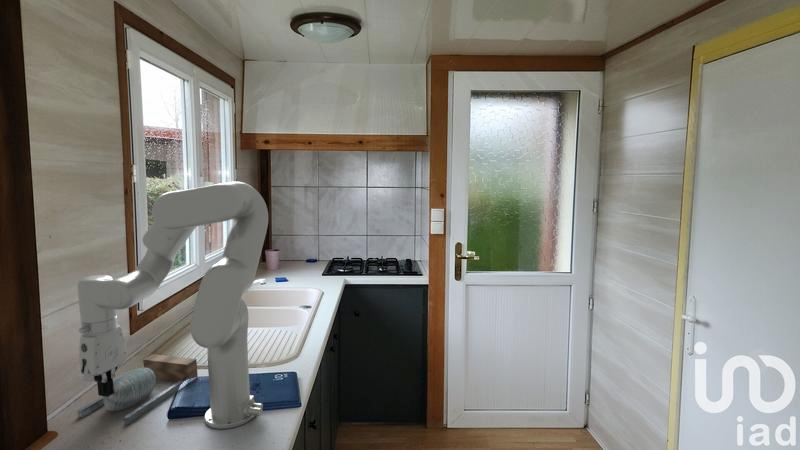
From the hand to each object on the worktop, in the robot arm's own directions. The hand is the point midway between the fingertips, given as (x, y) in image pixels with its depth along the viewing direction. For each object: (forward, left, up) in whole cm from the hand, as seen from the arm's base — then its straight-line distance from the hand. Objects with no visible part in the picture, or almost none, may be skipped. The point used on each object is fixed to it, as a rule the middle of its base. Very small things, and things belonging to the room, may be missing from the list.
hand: (106, 394), depth 117 cm
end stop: (0, -22, -6) cm, 23 cm away
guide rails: (0, -9, -6) cm, 11 cm away
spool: (0, -8, -6) cm, 10 cm away
